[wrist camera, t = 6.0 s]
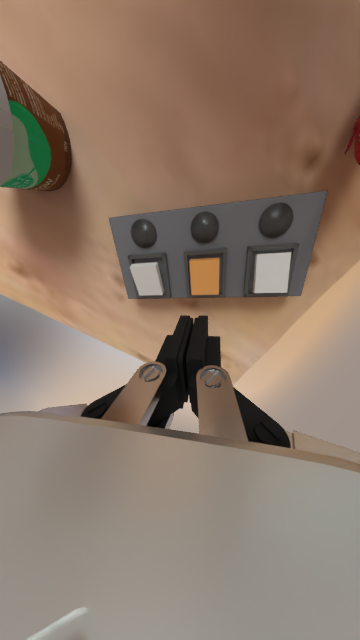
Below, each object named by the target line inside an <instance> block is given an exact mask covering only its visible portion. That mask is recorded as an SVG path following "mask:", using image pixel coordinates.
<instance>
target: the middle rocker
mask: <svg viewBox="0 0 360 640" xmlns="http://www.w3.org/2000/svg"><path fill="white" fill-rule="evenodd" d="M189 262H190V277H191V292H192V295H219V257H218V258H203V259H190V261H189Z"/></svg>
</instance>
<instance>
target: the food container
mask: <svg viewBox="0 0 360 640" xmlns="http://www.w3.org/2000/svg"><path fill="white" fill-rule="evenodd" d="M71 160H72V159H71V145H70V140H69V136H68V132H67V129H66V126H65V123H64V121H63V118H62V116H61V114H60V113H59V112H58V111H57V110H56V109H55V108H54V107H53V106H51V105H50V104H49V103H48V102H47V101H46V100H45V99H43V98H42V97H41V96H40V95H39V94H38V93H37V92H35V91H34V90H33V89H32V88H31V87H30V86H29V85H27V84H26V83H25V82H24V81H23V80H22V79H21V78H19V77H18V76H17V75H16V74H15V73H14V72H13V71H11V70H10V69H9V68H8V67H7V66H6V65H5V64H3V63H2V62H1V61H0V187H9V188H20V189H31V190H42V191H52V190H57V189H58V188H60V187H61V186H62V185H63V184H64V183H65V182H66V180H67V178H68V176H69V173H70V169H71Z"/></svg>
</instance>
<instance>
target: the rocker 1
mask: <svg viewBox="0 0 360 640" xmlns="http://www.w3.org/2000/svg"><path fill="white" fill-rule="evenodd" d="M130 270H131V273H132V276H133V279H134V281H135V284H136V287H137V290H138V293H139V295H140V296H144V295H163V293H164V288H163V283H162V279H161V275H160V270H159V266H158V262H154V263H137V264H132V265H131V266H130Z"/></svg>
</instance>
